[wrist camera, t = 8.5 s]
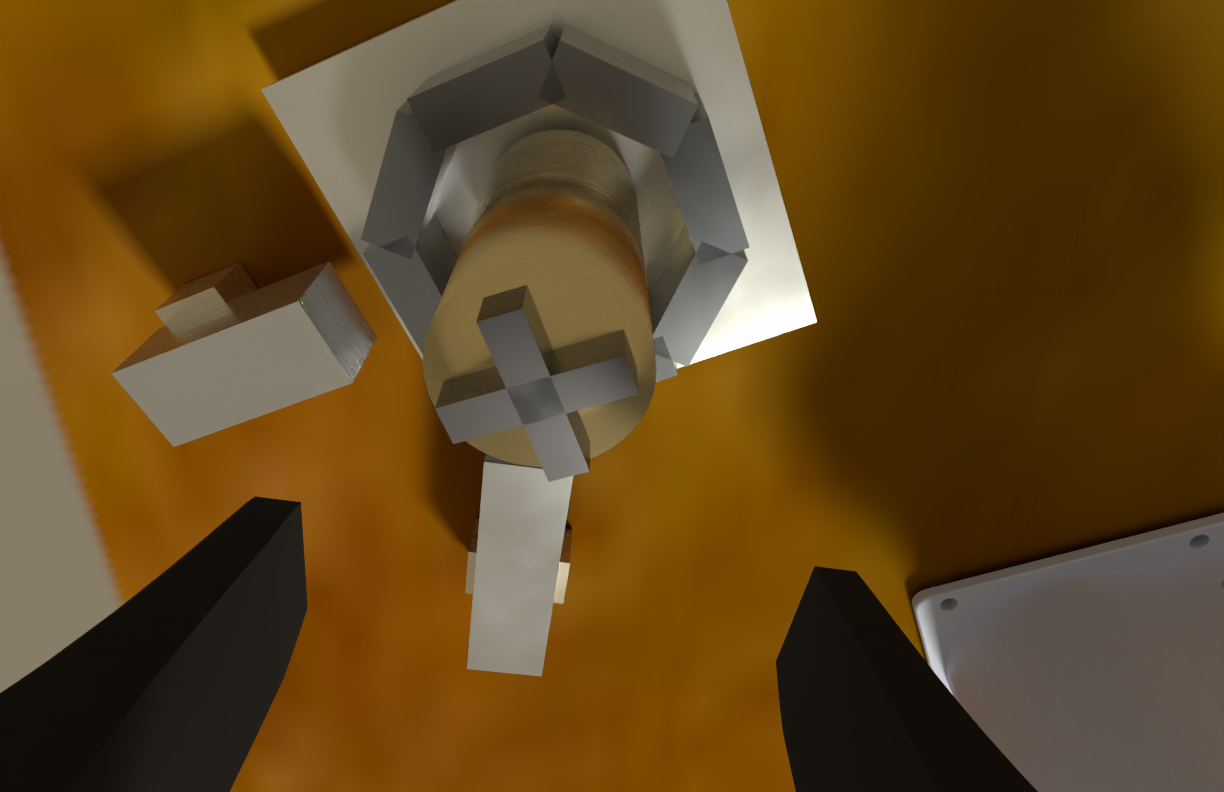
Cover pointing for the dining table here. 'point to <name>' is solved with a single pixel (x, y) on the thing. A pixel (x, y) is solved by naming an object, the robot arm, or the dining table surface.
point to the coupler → (546, 311)
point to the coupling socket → (444, 210)
